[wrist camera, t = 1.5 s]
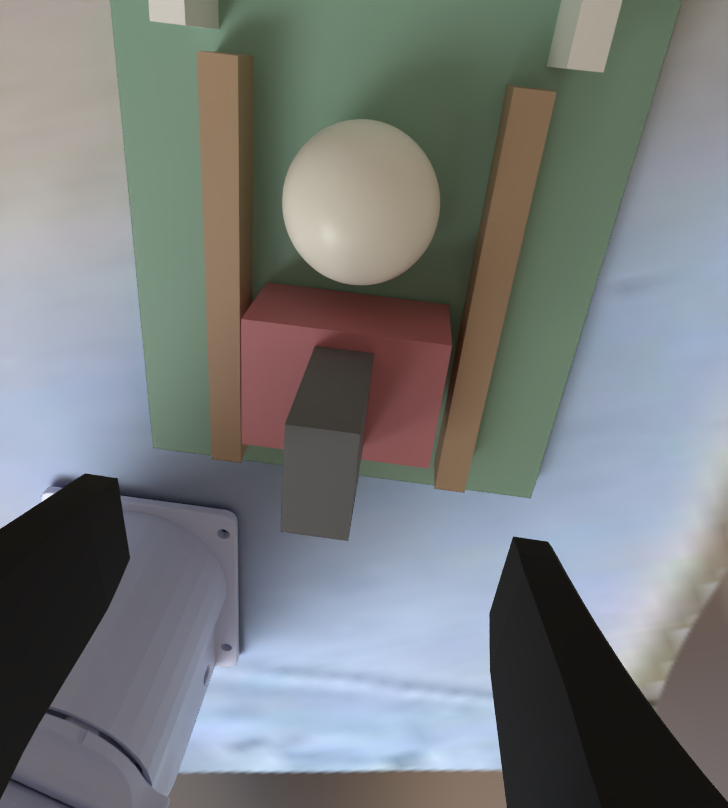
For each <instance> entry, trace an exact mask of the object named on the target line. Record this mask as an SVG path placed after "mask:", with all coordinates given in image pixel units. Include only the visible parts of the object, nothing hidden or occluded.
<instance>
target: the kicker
mask: <svg viewBox="0 0 728 808" xmlns="http://www.w3.org/2000/svg"><path fill="white" fill-rule="evenodd" d="M451 349H452V339H451V328H450V316H449V305H446V304H438V303H430V302H422V301H414V300H406V299H398V298H390V297H382V296H374V295H366V294H358V293H350V292H341V291H333V290H325V289H317V288H309V287H301V286H293V285H285V284H277V283H269V282H267V283H266V284H265V286H264V287H263V288H262V290H261V291H260V293H259V294H258V296H257V297H256V298H255V300H254V301H253V303H252V304H251V306H250V307H249V308H248V310H247V311H246V313H245V314H244V315H243V317H242V318H241V394H242V444H247V445H254V446H262V447H270V448H277V449H284V458H283V485H282V512H281V532H287V533H295V534H302V535H309V536H317V537H324V538H331V539H339V540H346V541H348V538H349V532H350V526H351V520H352V514H353V507H354V501H355V495H356V489H357V482H358V476H359V470H360V464H361V460H368V461H375V462H383V463H390V464H398V465H405V466H413V467H421V468H428V469H429V466H430V460H431V455H432V450H433V444H434V439H435V434H436V429H437V423H438V418H439V413H440V407H441V402H442V397H443V391H444V386H445V381H446V376H447V370H448V365H449V360H450V354H451Z"/></svg>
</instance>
